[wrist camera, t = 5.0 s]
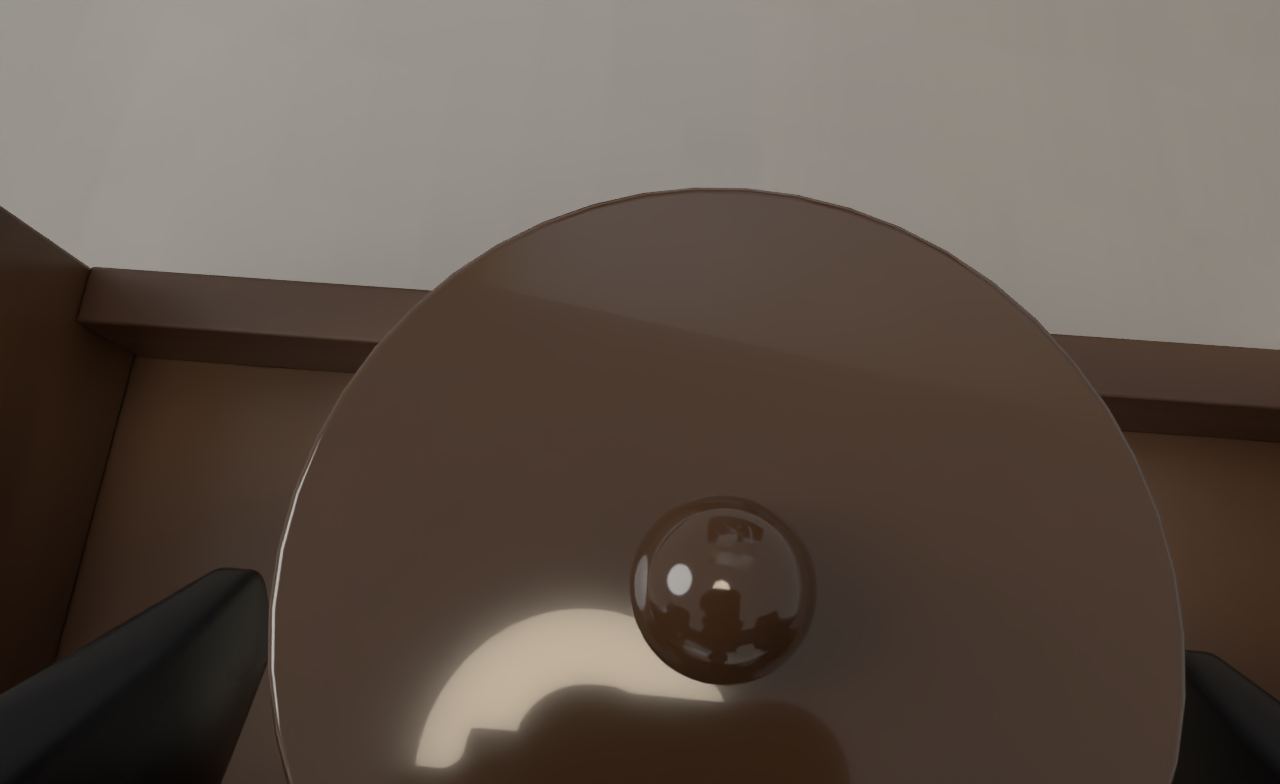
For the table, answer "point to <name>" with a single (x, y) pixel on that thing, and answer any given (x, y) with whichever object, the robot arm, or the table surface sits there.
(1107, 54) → the table surface
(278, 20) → the table surface
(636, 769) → the canister
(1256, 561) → the brown wooden tray
